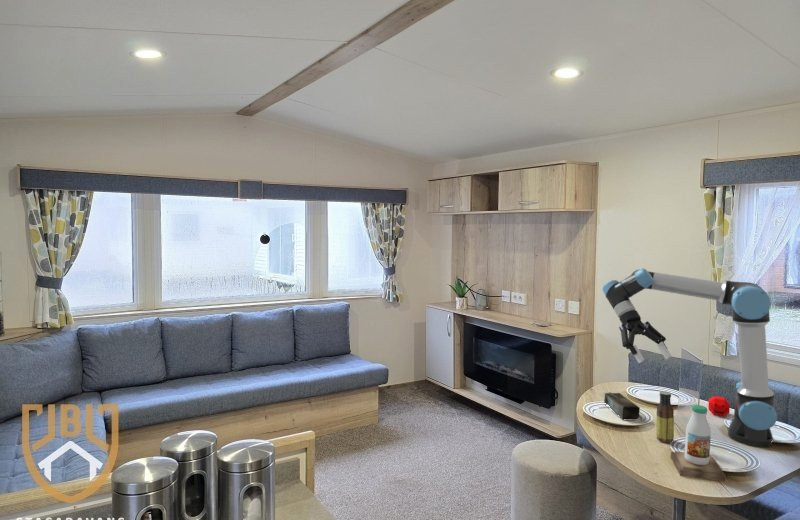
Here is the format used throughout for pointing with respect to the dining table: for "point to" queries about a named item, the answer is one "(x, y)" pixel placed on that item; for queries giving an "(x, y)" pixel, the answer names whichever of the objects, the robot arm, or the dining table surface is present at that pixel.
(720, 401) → the ball
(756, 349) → the robot arm
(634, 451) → the dining table surface
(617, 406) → the dark brown block
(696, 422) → the milk bottle
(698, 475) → the podium
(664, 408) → the sauce bottle
